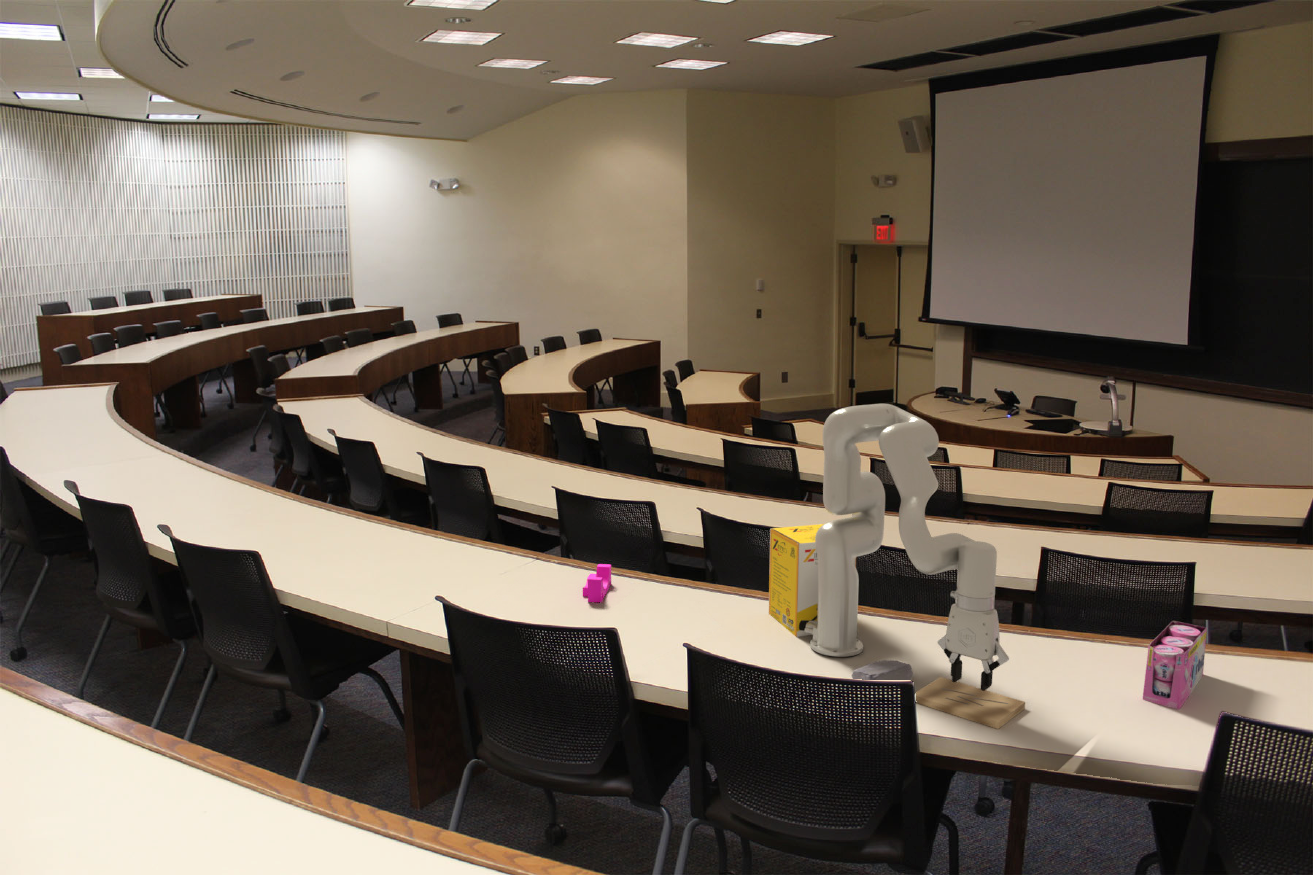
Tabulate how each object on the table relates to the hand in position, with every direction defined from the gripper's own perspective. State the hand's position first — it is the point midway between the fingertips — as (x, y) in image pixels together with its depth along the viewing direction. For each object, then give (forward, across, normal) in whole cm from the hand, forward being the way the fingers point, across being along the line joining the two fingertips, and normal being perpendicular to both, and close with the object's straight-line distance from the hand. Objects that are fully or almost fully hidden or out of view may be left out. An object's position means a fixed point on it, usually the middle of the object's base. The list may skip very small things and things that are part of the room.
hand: (970, 683), depth 201 cm
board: (+5, 0, 0) cm, 5 cm away
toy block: (+5, -111, -4) cm, 111 cm away
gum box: (+5, +29, +37) cm, 47 cm away
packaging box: (+5, -52, +17) cm, 55 cm away
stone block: (+2, -25, -1) cm, 25 cm away
